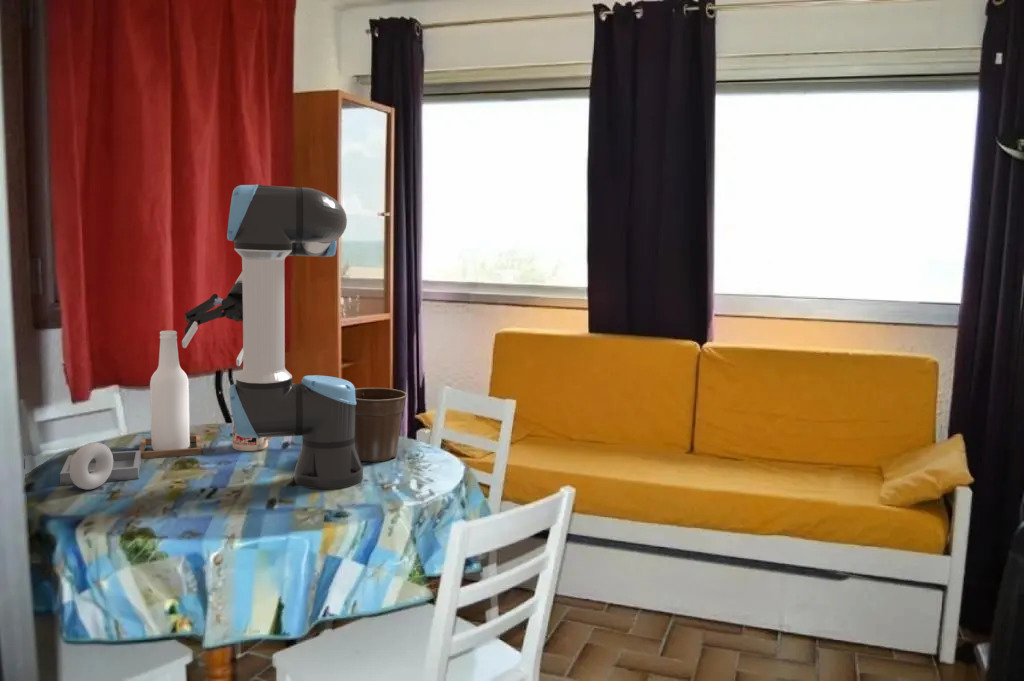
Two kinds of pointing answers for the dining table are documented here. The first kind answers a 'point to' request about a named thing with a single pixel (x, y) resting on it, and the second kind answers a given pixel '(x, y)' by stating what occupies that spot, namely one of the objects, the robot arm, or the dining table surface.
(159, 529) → the dining table surface
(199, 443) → the square wooden frame
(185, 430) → the alcohol
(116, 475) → the tray
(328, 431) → the robot arm
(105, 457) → the donut
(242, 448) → the teacup with lid
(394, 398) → the plant pot
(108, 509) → the dining table surface
